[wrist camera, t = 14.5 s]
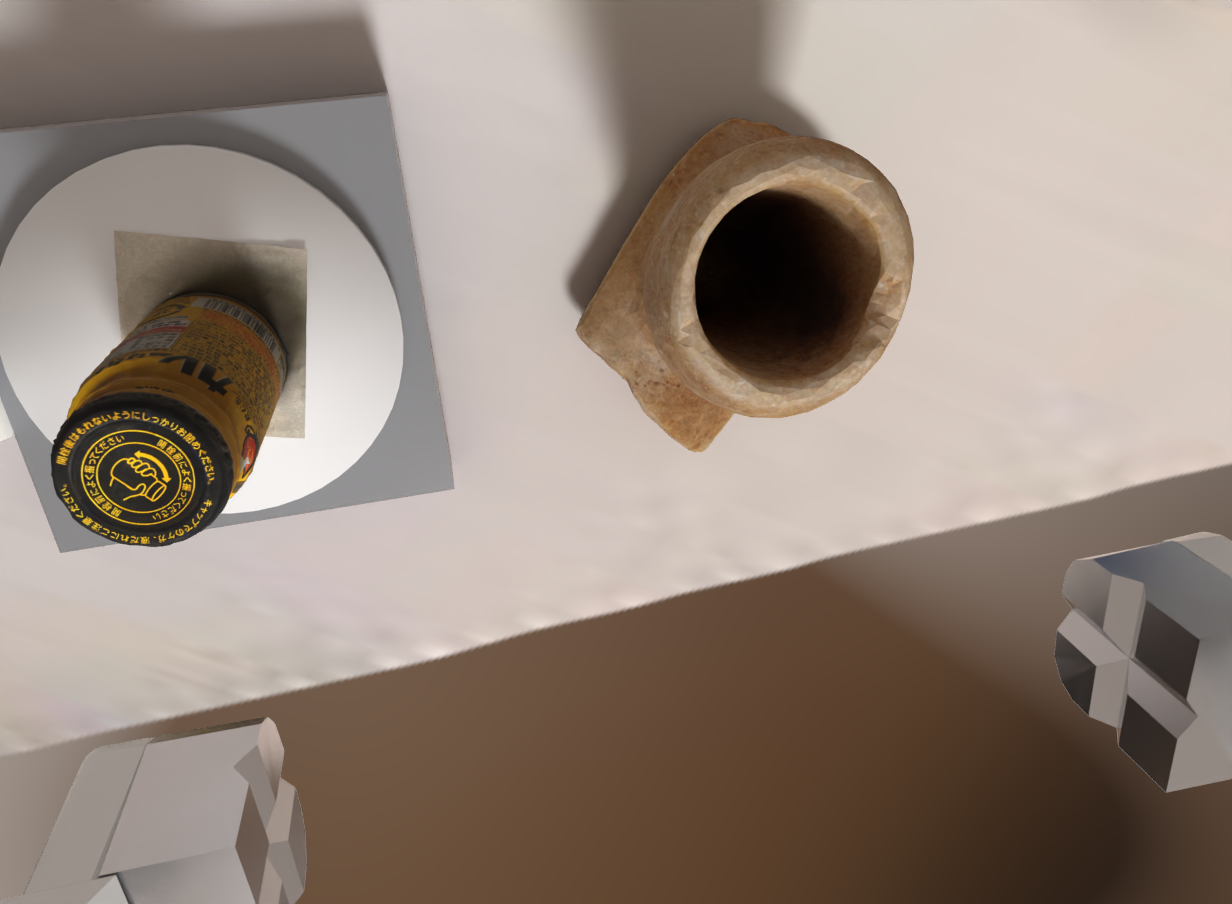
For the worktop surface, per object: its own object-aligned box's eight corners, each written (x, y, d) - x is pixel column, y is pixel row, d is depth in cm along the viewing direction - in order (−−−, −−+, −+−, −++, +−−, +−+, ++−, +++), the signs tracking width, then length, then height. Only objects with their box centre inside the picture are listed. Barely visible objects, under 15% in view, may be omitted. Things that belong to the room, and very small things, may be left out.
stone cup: (688, 55, 42) (819, 63, 29) (868, 203, 47) (1053, 269, 34) (506, 327, 46) (549, 447, 32) (691, 441, 50) (795, 587, 37)
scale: (-95, 138, 37) (-182, 155, 32) (387, 91, 40) (384, 100, 35) (54, 526, 45) (5, 595, 40) (451, 463, 48) (457, 519, 42)
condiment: (127, 427, 40) (25, 570, 29) (114, 229, 37) (-5, 308, 26) (305, 436, 42) (271, 575, 31) (308, 248, 38) (270, 329, 28)
